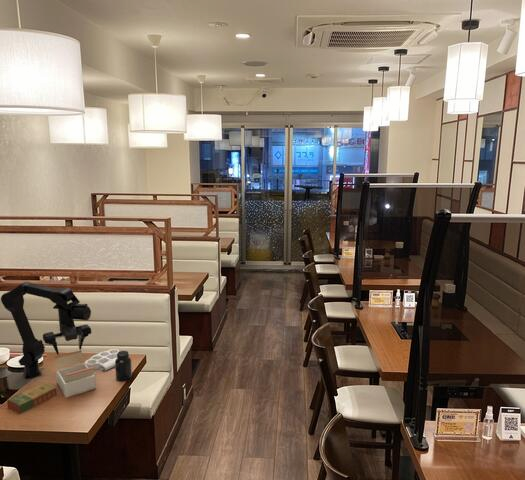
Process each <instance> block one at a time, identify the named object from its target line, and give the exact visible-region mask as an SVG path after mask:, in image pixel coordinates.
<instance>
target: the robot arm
mask: <svg viewBox="0 0 525 480" xmlns="http://www.w3.org/2000/svg"><path fill="white" fill-rule="evenodd" d="M26 294H27V295H32V296H36V297H39V298H43V299H44V298H45V299H47V300H49V301H51V302H52V303H53V304H55V305H54V306H53V307H52V308H53V309H54V310H57V313H58V323H59V324H58V325H59V326H58V327H59V332H57V333H54V332H53V331H49V332H45V333H43V334H42V339H38V338H36V336H35V335H34V332H33V329H32V327H31V326H32V325H31V324H30V322H29V320H28V317H27V314H26V312H25V311H26V310H25V309H24V304H25V298H24V296H25V295H26ZM0 302H1V304H2V305H3V307H4V308H5V309H6V310H7V311H8V312H10V313H11V316H12V318H13V321H14V323H15V326H16V328H17V330H18V333H19V336H20V337H21V341H22V357H21V358H19V360H18V364H19V366H23V367H24V372H22V374H23V376H24V379H26V380H27V379H31V378H35V377H38V376H42V372H41V370H40V364H39V360H40V359H41V358H43V355H44V354H45V348H46V347H45V345H44V343H45V344H46V345H51V346H52V347H53V349H54V351H55V354H56V355H57V356H60V355H59V353H60V352H59V349H58V342H57V340H56V339H59V338H64V339H65V341H66V342H70V341H73V340H77V339H78V349H79V351H80V350H81V351H82V347H83V343H84V341H85V338H87V337H89V335H92V328H91V326H90V325H88V324H82V325H78V326H76V325H75V321H76V320H78V321H88V320H90V318H91V316H92V310H91V308H90V307H89V305H88V304H87V303H80V302H81V301H80V300H79V299H78V297H77V296H76V294H74V292H73V290H72V289H71V288H69V287H55V288H54V287H49V286H45V285H42V284H41V285H40V284H36V283H32V282H30V281H24V282H22V283H20V284H19V285H18V286H17V287H15V288H14V289H11V290H10V291H7V292H4V293H3V294H2V295H1V296H0ZM74 320H75V321H74ZM43 342H44V343H43Z"/></svg>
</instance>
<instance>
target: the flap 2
mask: <svg viewBox="0 0 525 480" xmlns="http://www.w3.org/2000/svg"><path fill="white" fill-rule="evenodd" d="M94 369H95V367H90V368H87V369H83V370H79V371H76V372H72V373H68V374H66V382H69V381H73V380H76V379H80V378H84V377H87V376H91V375H93V374H94V375H95V373H94V372H95V370H96V369H95V370H94Z"/></svg>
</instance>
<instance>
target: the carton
mask: <svg viewBox="0 0 525 480" xmlns="http://www.w3.org/2000/svg"><path fill="white" fill-rule="evenodd" d="M56 396H57V388H56V386H54V385H52V384H49V383H47V382H44V381H42V382H40V383H38V384H37V385H34V386H32V387H30V388H28V389H26V390H24V391H22V392H20V393H18V394H16V395H13V396H12V397H10V398H7V401H6V402H7V404H6V407H7V409H8V410H11V411H13V412H15V413H17V414H20V415H21V414H23V413H25V412H27V411H29V410H30V409H33V408H35V407H37V406H39V405H40V404H43V403H44V402H47V401H48V400H50V399H52V398H54V397H56Z"/></svg>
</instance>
